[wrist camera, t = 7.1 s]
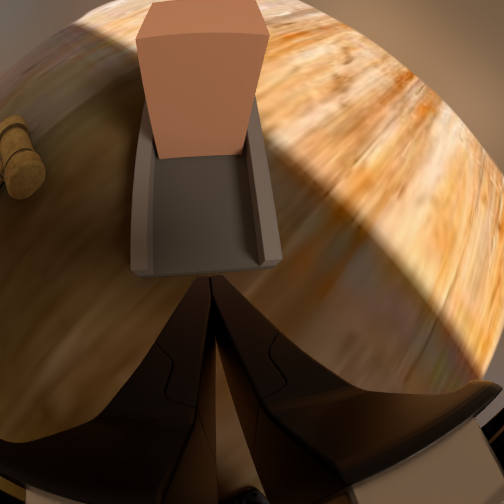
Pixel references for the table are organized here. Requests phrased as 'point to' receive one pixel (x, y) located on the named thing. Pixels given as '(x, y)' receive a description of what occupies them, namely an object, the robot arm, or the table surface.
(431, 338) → the table surface
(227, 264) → the gray tray
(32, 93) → the table surface
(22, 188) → the gavel
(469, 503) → the robot arm
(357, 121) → the table surface
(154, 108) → the block
